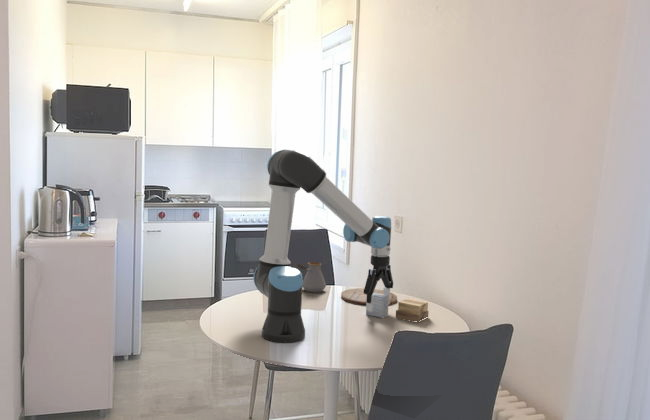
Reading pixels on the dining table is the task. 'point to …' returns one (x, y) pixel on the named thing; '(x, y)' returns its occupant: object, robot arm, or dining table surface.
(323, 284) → the coffee pot
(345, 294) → the trivet
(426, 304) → the oak slab
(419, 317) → the walnut slab
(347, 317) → the dining table surface
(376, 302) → the medicine box
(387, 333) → the dining table surface
